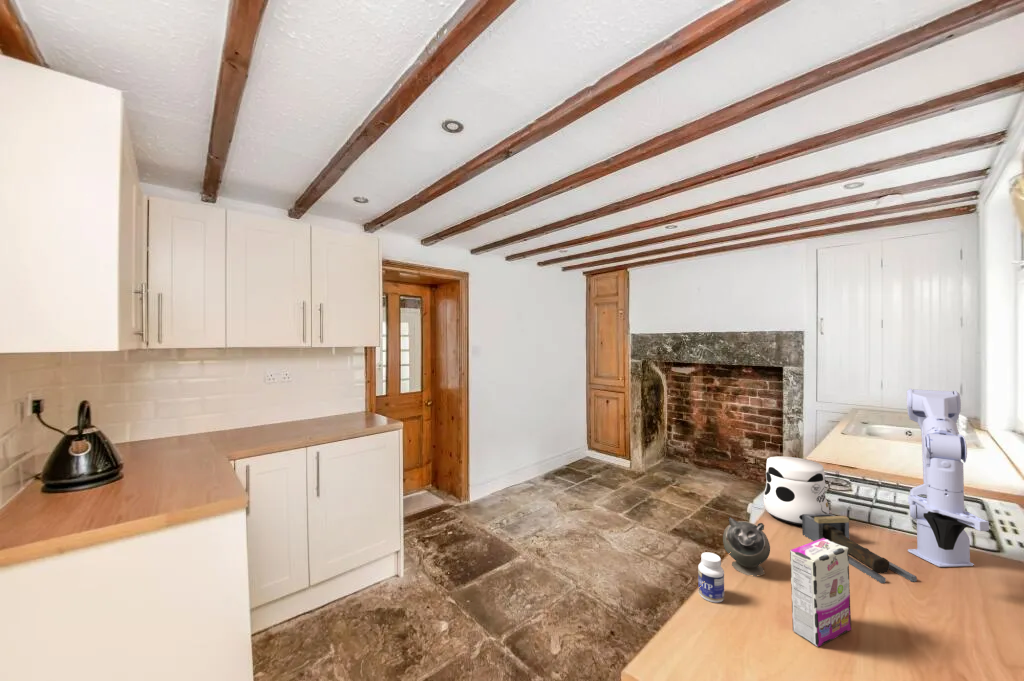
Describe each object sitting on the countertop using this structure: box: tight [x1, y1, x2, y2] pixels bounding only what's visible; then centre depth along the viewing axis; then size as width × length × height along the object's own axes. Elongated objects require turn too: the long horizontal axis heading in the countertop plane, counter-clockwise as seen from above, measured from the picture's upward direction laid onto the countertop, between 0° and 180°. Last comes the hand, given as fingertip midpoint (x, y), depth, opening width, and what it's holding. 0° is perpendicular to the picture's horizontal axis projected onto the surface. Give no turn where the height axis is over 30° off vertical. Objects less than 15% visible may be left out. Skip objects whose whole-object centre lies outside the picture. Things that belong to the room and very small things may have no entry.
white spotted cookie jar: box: [762, 455, 830, 526], centre depth 129 cm, size 17×17×18 cm
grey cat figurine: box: [722, 516, 771, 577], centre depth 101 cm, size 10×12×10 cm
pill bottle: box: [697, 551, 725, 603], centre depth 91 cm, size 5×5×9 cm
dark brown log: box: [823, 524, 890, 574], centre depth 108 cm, size 19×4×5 cm, turn 177°
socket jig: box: [801, 512, 918, 584], centre depth 107 cm, size 9×24×7 cm, turn 3°
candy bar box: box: [789, 537, 852, 648], centre depth 79 cm, size 11×5×16 cm, turn 114°
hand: (945, 548), depth 90 cm, fingers closed
